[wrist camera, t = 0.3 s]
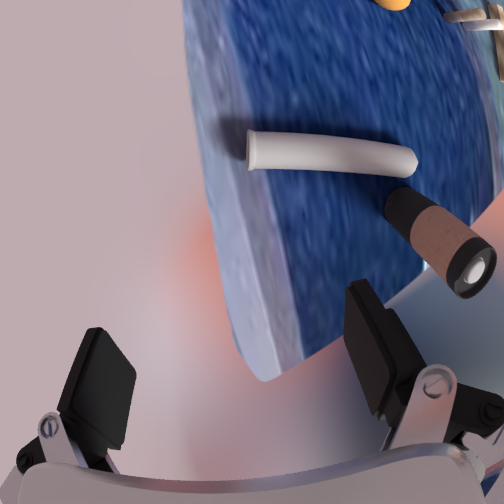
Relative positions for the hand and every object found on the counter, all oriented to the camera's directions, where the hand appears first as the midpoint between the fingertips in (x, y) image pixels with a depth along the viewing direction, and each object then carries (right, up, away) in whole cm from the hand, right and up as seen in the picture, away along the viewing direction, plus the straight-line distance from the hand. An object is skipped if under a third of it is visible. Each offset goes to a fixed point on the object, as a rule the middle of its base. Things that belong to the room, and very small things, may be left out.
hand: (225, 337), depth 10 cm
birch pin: (+34, +42, +13) cm, 55 cm away
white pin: (+38, +43, +13) cm, 59 cm away
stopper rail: (+49, +44, +13) cm, 68 cm away
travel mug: (+26, +11, +31) cm, 42 cm away
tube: (+13, +18, +27) cm, 34 cm away
